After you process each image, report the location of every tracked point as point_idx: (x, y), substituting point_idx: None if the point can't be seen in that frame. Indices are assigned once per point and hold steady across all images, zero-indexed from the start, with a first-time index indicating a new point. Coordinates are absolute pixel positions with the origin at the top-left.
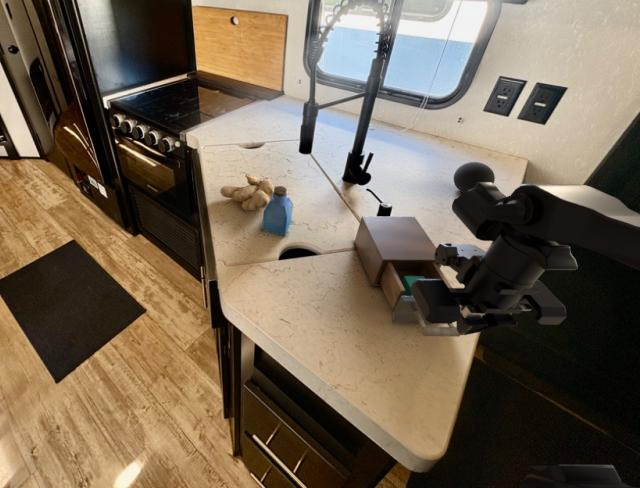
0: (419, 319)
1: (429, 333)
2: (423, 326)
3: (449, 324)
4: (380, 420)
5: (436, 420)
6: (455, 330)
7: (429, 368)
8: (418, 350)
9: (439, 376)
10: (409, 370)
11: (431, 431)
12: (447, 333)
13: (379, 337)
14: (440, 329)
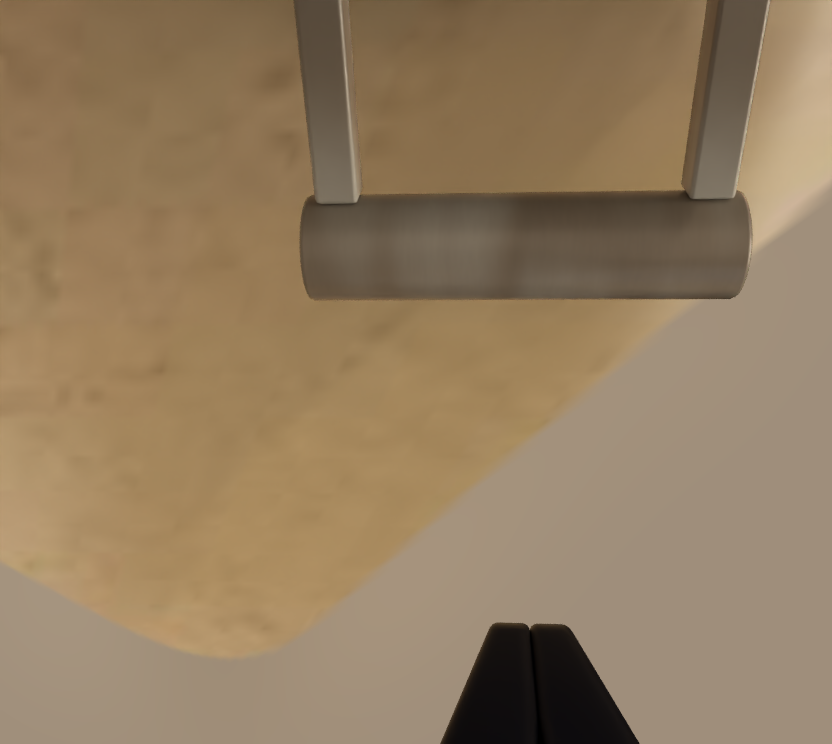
0: (304, 96)
1: (348, 299)
2: (321, 198)
3: (692, 157)
4: (16, 567)
5: (317, 572)
6: (689, 277)
7: (402, 328)
8: (372, 192)
9: (451, 378)
10: (243, 342)
11: (271, 606)
12: (569, 298)
13: (39, 74)
14: (497, 270)
